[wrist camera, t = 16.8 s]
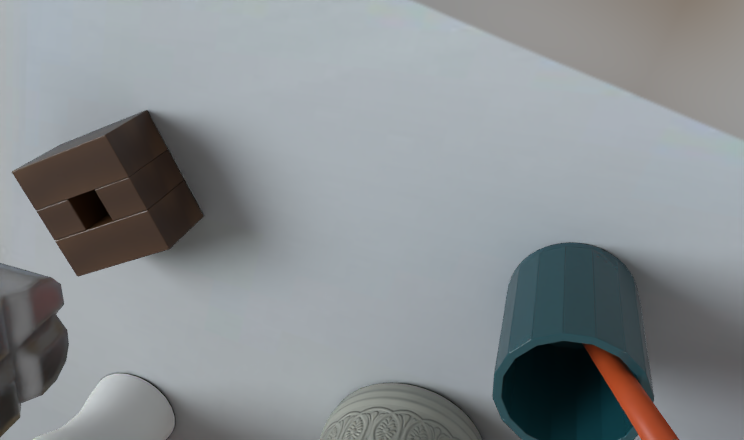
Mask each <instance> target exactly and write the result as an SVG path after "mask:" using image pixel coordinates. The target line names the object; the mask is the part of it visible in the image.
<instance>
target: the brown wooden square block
mask: <svg viewBox="0 0 744 440" xmlns="http://www.w3.org/2000/svg"><path fill="white" fill-rule="evenodd" d="M167 149H168V148H167V147H166V145H165V143H164V141H163V139H162V137H161V135H160V134H159V132H158V130H157V128H156V126H155V124H154V122H153V120H152V119H151V117H150V115H149V113H148V111H147V110H146V111H143V112H141V113H138V114H136V115H133V116H131V117H128V118H126V119H123V120H121V121H118V122H116V123H113V124H111V125H108V126H106V127H103V128H101V129H98V130H96V131H93V132H91V133H89V134H86V135H84V136H81V137H79V138H76V139H74V140H71V141H69V142H66V143H64V144H61V145H59V146H57V147H55V148H53V149H52V150H50V151H48V152H46V153H44V154H43V155H41V156H39V157H37V158H35V159H34V160H32V161H30V162H28V163H26V164H25V165H23V166H21V167H19V168H17V169H16V170H14V171H12V173H13V175H14V176H15V178H16V179H17V181H18V183H19V184H20V186H21V187H22V189H23V191H24V192H25V194H26V195H27V197H28V199H29V200H30V202H31V203H32V205H33V207H34V208H35V210H37V213H38V214H39V216H40V217H41V219H42V221H43V222H44V224H45V225H46V227H47V229H48V230H49V232H50V233H51V235H52V237H53V238H54V240H56V243H57V245H58V246H59V248H60V249H61V251H62V253H63V254H64V256H65V257H66V259H67V261H68V262H69V264H70V265H71V267H72V269H73V270H74V272H75V273H76V275H77V276H81V275H85V274H88V273H91V272H95V271H98V270H101V269H105V268H108V267H111V266H115V265H118V264H121V263H125V262H128V261H131V260H135V259H138V258H141V257H145V256H148V255H151V254H155V253H158V252H161V251H165V250H168V249H170V248H171V247H172V246H173V245H174V244H175V243H176V242H177V241H178V240H179V239H180V238H182V237H183V236H184V235H185V234H186V233H187V232H188V231H189V230H190V229H191V228H192V227H193V226H194V225H195V224H196V223H197V222H198V221H199V220H200V219H201V218H202V217H203V214H202V212H201V210H200V208H199V206H198V205H197V203H196V201H195V199H194V197H193V195H192V193H191V192H190V190H189V188H188V186H187V184H186V182H185V181H184V178H183V176H182V175H181V173H180V171H179V169H178V167H177V165H176V163H175V161H174V160H173V158H172V156H171V154H170V152H169V150H167Z"/></svg>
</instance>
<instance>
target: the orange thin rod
mask: <svg viewBox="0 0 744 440" xmlns="http://www.w3.org/2000/svg"><path fill="white" fill-rule="evenodd" d="M582 344H583V346H584V347H585V349H586V350H587V352H588V354H589V355H590V357H591V358H592V360H593V362H594V363H595V365H596V367H597V368H598V370H599V371H600V373H601V375H602V376H603V378H604V380H605V381H606V383H607V384H608V386H609V388H610V389H611V391H612V392H613V394H614V396H615V397H616V399H617V401H618V402H619V404H620V405H621V407H622V409H623V410H624V412H625V414H626V415H627V417H628V418H629V420H630V422H631V423H632V425H633V426H634V428H635V430H636V431H637V433H638V435H639V436H640V438H641V439H642V440H673V439H676V440H679V439H678V437H677V436H676V435H675V433H674V432H673V430H672V429H671V427H670V426H669V425H668V423H667V422H666V420H665V419H664V417H663V416H662V415H661V413H660V412H659V410H658V409H657V407H656V406H655V405H654V403H653V402H652V400H651V399H650V398H649V396H648V395H647V393H646V392H645V390H644V389H643V388H642V386H641V385H640V383H639V382H638V380H637V379H636V378H635V376H634V375H633V373H632V372H631V370H630V369H629V368H628V366H627V365H626V364H625V363H624V362H623V361H622V360H621V359H620V358H619V357H617V356H615V355H613V354H611V353H609V352H607V351H605V350H603V349H601V348H599V347H597V346H595V345H591V344H584V343H582Z"/></svg>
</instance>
